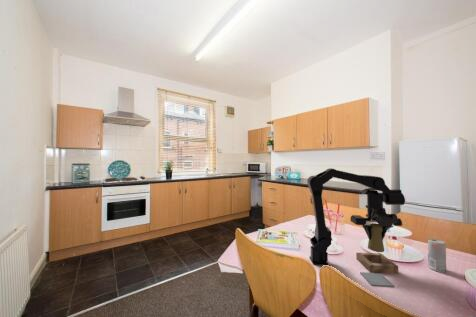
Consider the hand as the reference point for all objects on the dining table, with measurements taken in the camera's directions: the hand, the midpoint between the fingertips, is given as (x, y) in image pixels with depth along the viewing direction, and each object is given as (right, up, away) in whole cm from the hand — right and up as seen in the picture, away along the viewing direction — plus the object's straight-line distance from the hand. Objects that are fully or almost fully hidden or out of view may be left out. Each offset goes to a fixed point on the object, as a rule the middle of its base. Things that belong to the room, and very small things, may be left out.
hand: (375, 239), depth 85 cm
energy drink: (+24, -11, -3) cm, 27 cm away
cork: (0, -4, 0) cm, 4 cm away
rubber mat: (-7, -12, -10) cm, 17 cm away
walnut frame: (0, -12, 0) cm, 12 cm away
